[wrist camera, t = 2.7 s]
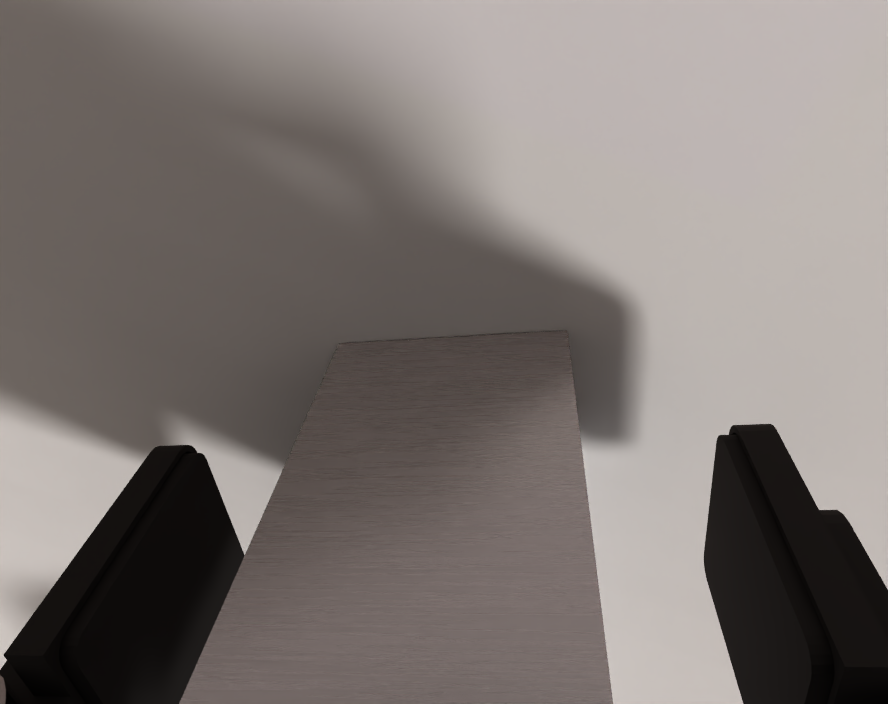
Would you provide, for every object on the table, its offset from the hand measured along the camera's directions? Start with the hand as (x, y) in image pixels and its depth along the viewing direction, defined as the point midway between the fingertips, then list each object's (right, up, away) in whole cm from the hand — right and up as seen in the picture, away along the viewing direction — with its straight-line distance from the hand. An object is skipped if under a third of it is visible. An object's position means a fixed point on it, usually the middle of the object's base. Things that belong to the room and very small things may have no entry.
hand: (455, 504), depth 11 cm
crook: (+4, -6, +5) cm, 9 cm away
